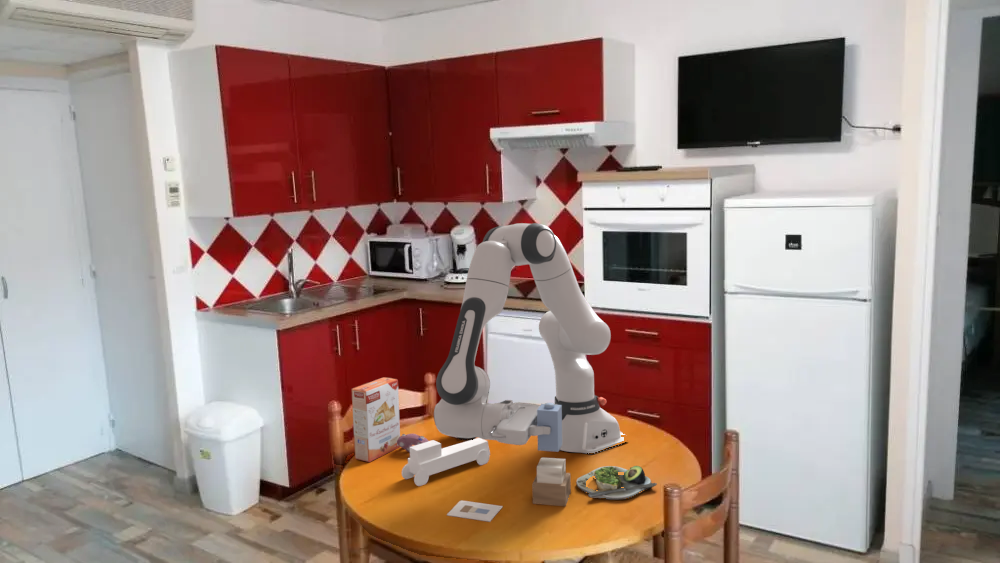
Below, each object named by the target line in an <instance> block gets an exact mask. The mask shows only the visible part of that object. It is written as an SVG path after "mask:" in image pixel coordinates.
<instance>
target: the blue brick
mask: <svg viewBox="0 0 1000 563" xmlns="http://www.w3.org/2000/svg"><path fill="white" fill-rule="evenodd" d="M539 405H540V407H539V408H538V409H537V426H544V425H550V426H551V433H550V434H549V435H547V434H542V435H537V451H541V452H542V451H544V452H557V453H558V452H559V451H561V450H560V448H561V446H562V405H555V402H554V403H553V402H546V403H541V404H539Z"/></svg>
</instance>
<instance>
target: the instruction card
mask: <svg viewBox="0 0 1000 563" xmlns="http://www.w3.org/2000/svg"><path fill="white" fill-rule="evenodd" d="M502 508H503V505H497V504H489V503H482V502H476V501H475V502H474V501H468V500H459V501H458V502H457V503H456V504H455V505H454V506H453V507H452V509H451V510H449V512H447V514H446V516H449V517H455V518H461V519H462V518H463V519H470V520H475V521H476V520H477V521H481V522H488V523H491V521H493V519H494V517H496V515H497V514H498V513H499V512H500V510H502Z"/></svg>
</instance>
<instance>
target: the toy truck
mask: <svg viewBox="0 0 1000 563" xmlns="http://www.w3.org/2000/svg"><path fill="white" fill-rule="evenodd" d="M490 456H491V451H490V447H489V440H486V439H481V438H479V437H476V438H475V439H473V440H465V441H463V442H460V443H456V444H453V445H449V446H446V447H442V442H441V443H440V442H438V441H436V440H434V439H432V440H431V439H430V440H428V442H425V443H422V444H418V445H412V447H410V452H409V457H408V458H407V463H406V464H405V465H403V467H402V469H401V476H402V478H403V479H404V480H408V479H411V478H413V481H414V484H415V485H416V486H418V487H421V486H423V485H427V483H428V481H429V477H430V476H432V475H435V474H438V473H440V472H444V471H447V470H449V469H453V468H456V467H459V466H461V465H464V464H468V463H471V462H473V461H476V462H477V464H478V465H479V466H483V465H486V464H488V462H489V461H490Z"/></svg>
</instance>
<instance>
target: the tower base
mask: <svg viewBox="0 0 1000 563" xmlns="http://www.w3.org/2000/svg"><path fill="white" fill-rule="evenodd" d="M566 460H567V459H566V458H558V457H557V458H555V457H541V458H540V459H539V462H538V464H537V465H536V476H535V477H534V479H533V482H532V483H531V484H532V485H531V486H532V487H531V488H532V504H533V505H545V506H546V505H547V506H559V507H566V506H567V503H568V501H569V499H568V498H570V496H569V495H571V494H572V482H571V472H567V470H566V467H567V466H566Z"/></svg>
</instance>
